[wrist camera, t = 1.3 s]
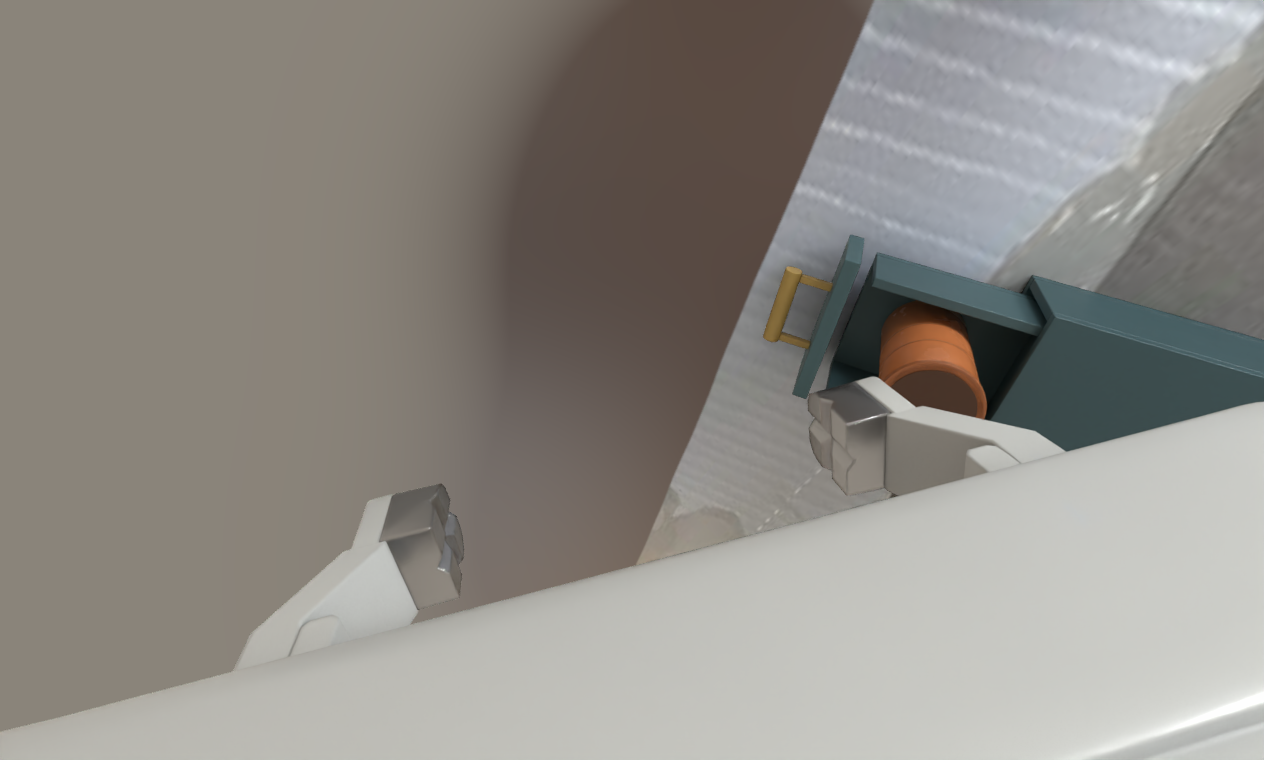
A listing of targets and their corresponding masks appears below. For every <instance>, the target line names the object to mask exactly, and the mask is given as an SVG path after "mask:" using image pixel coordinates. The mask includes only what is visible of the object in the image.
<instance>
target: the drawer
mask: <svg viewBox="0 0 1264 760" xmlns="http://www.w3.org/2000/svg"><path fill="white" fill-rule="evenodd" d="M863 246H864V238H861V237H857V236H854V235H850V237H849V239H848V242H847V244H846V247H845V250H844V252H843V255H842V257H841V260H840V263H839V265H838V268H837V270H836V273H835V276H834V278H833V281H832V283H831V282H827V281H824V280H821V279H817V278H814V277H811V276H808V275H804V274H802V271H801V270H800V269H798V268H795V267H786V269H785V272H784V275H783V278H782V281H781V284H780V287H779V289H778V292H777V295H776V298H775V301H774V304H773V307H772V310H771V313H770V316H769V319H768V322H767V325H766V328H765V331H764V334H763V338H764V339H766V340H767V341H770V342H777V341H778V340H780V341H784V342H787V343H790V344H793V345H796V346H799V347H802V348H805V349H806V351H805V353H804V356H803V358H802V362H801V365H800V369H799V372H798V376H797V379H796V383H795V387H794V390H793V395H796V396H799V397H801V398H804V399H806V398H807V396H808V393H809V391H810V388H811V386H812V383H813V381H814V378H815V376H816V373H817V371H818V369H819V366H820V364H821V361H822V359H823V356H824V354H825V351H826V349H827V346H828V344H829V342H830V339H831V337H832V334H833V332H834V329H835V327H836V324H837V322H838V319H839V317H840V315H841V312H842V310H843V307H844V305H845V302H846V300H847V297H848V295H849V292H850V290H851V288H852V285H853V283H854V280H855V278H856V275H857V273H858V270H859V268H860V265H861V260H862V253H863ZM799 282H800V283H803V284H806V285H809V286H813V287H816V288H819V289H822V290H826V291H828V294H827V296H826V299H825V301H824V304H823V307H822V309H821V312H820V314H819V317H818V320H817V322H816V325H815V327H814V330H813V332H812V335H811V338H810V340H805V339H802V338H799V337H796V336H793V335H790V334H787V333H784V332H782V329H783V326H784V324H785V321H786V318H787V315H788V312H789V310H790V307H791V304H792V301H793V298H794V295H795V293H796V290H797V287H798V284H799ZM917 300H918V301H921V302H924V303H928V304H931V305H934V306H938V307H941V308H944V309H948V310H951V311H954V312H958V313H959V314H960V315H961V316H962V318H963V319H964V321H965V324H966V327H967V331H968V336H969V340H970V344H971V348H972V352H973V357H974V361H975V365H976V369H977V373H978V378H979V382H980V384H981V386H982V387H983V390H984V392H985V396H986V401H987V410H986V415H985V418H984V420H987V418H988V417H989V415H990V413H991V412H992V410H993V409H994V407H995V405H996V404H997V402H998V400H999V399H1000V397H1001V396H1002V394H1003V392H1004V391H1005V389H1006V388H1007V386H1008V384H1009V383H1010V381H1011V379H1012V378H1013V376H1014V375H1015V373H1016V371H1017V370H1018V368H1019V367H1020V365H1021V363H1022V362H1023V360H1024V358H1025V357H1026V355H1027V354H1028V352H1029V350H1030V349H1031V347H1032V346H1033V344H1034V342H1035V341H1036V339H1037V337H1038V336H1039V334H1040V333H1041V331H1042V329H1043V328H1044V326H1045V325H1046V323H1047V321H1046V319H1045V317H1044V315H1043V313H1042V311H1041V309H1040V307H1039V305H1038V303H1037V301H1036V299H1035V298H1034V297H1031V296H1027V295H1024V294H1020V293H1017V292H1013V291H1010V290H1006V289H1003V288H999V287H996V286H992V285H989V284H986V283H982V282H979V281H975V280H972V279H968V278H965V277H961V276H958V275H954V274H951V273H947V272H944V271H940V270H937V269H933V268H930V267H927V266H923V265H920V264H916V263H913V262H909V261H906V260H902V259H899V258H895V257H892V256H888V255H885V254H881V253H877V254H876V256H875V259H874V261H873V263H872V266H871V268H870V271H869V273H868V275H867V278H866V280H865V283H864V285H863V287H862V290H861V292H860V294H859V297H858V299H857V302H856V304H855V306H854V309H853V311H852V314H851V316H850V318H849V321H848V323H847V326H846V328H845V330H844V333H843V335H842V338H841V340H840V342H839V345H838V347H837V350H836V352H835V354H834V357H833V359H832V361H831V365H830V370H829V375H828V380H827V385H826V389H829V388H833V387H836V386H840V385H844V384H847V383H851V382H854V381H858V380H861V379H865V378H868V377H872V376H874V377H878V378H879V359H880V341H881V330H882V327H883V324H884V322H885V321H886V319H887V318H888V316H889V315H890V314H891V313H892V312H893V311H894V310H896V309H897V308H899V307H900V306H902V305H904V304H906V303H909V302H912V301H917Z"/></svg>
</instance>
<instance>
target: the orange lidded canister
mask: <svg viewBox="0 0 1264 760" xmlns="http://www.w3.org/2000/svg"><path fill="white" fill-rule="evenodd" d="M879 379H881V380H882V381H883V382H884V383H886V384H887V385H888V386H890V387H891V388H892V389H893V390H895V391H896V392H897V393H898V394H900V395H901V396H902V397H904V398H905V399H906V400H907V401H909V402H910V403H911V404H913V405H914V406H915V407H920V406H926V407H930V408H934V409H939V410H943V411H948V412H952V413H957V414H961V415H966V416H970V417H975V418H979V419H983V420H984V418H985V415H986V410H987V401H986V396H985V392H984V390H983V387H982V386H981V384H980V382H979V378H978V373H977V369H976V365H975V361H974V357H973V352H972V348H971V344H970V340H969V336H968V331H967V327H966V324H965V321H964V319H963V318H962V316H961V315H960V314H959V313H958V312H954V311H951V310H948V309H944V308H941V307H938V306H934V305H931V304H928V303H924V302H921V301H918V300H917V301H912V302H909V303H906V304H904V305H902V306H900V307H899V308H897V309H896V310H894V311H893V312H892V313H891V314H890V315H889V316H888V318H887V319H886V321H885V322H884V324H883V327H882V330H881V341H880V359H879Z"/></svg>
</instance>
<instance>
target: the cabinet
mask: <svg viewBox="0 0 1264 760" xmlns="http://www.w3.org/2000/svg"><path fill="white" fill-rule="evenodd" d="M1022 294H1024V295H1027V296H1031V297H1034V298H1035V299H1036V301H1037V303H1038V305H1039V307H1040V309H1041V311H1042V313H1043V315H1044V317H1045V319H1046V321H1047V323H1046V325H1045V326H1044V328H1043V329H1042V331H1041V333H1040V334H1039V336H1038V337H1037V339H1036V341H1035V342H1034V344H1033V346H1032V347H1031V349H1030V350H1029V352H1028V354H1027V355H1026V357H1025V358H1024V360H1023V362H1022V363H1021V365H1020V367H1019V368H1018V370H1017V371H1016V373H1015V375H1014V376H1013V378H1012V379H1011V381H1010V383H1009V384H1008V386H1007V388H1006V389H1005V391H1004V392H1003V394H1002V396H1001V397H1000V399H999V400H998V402H997V404H996V405H995V407H994V409H993V410H992V412H991V413H990V415H989V417H988V418H987V420H988V421H992V422H997V423H1001V424H1006V425H1010V426H1015V427H1019V428H1023V429H1028V430H1032V431H1036V432H1037V433H1039V434H1040V435H1042V436H1043V437H1045V438H1046V439H1048V440H1049V441H1051V442H1052V443H1054V444H1055V445H1057V446H1058V447H1060V448H1061V449H1063V450H1065V451H1066V452H1067V451H1071V450H1075V449H1079V448H1082V447H1086V446H1090V445H1094V444H1098V443H1101V442H1105V441H1109V440H1113V439H1117V438H1120V437H1124V436H1128V435H1132V434H1136V433H1139V432H1143V431H1147V430H1151V429H1154V428H1158V427H1162V426H1166V425H1170V424H1173V423H1177V422H1181V421H1185V420H1189V419H1192V418H1196V417H1200V416H1204V415H1207V414H1211V413H1215V412H1218V411H1222V410H1226V409H1229V408H1233V407H1237V406H1241V405H1245V404H1250V403H1256V402H1264V340H1262V339H1258V338H1255V337H1251V336H1247V335H1244V334H1240V333H1237V332H1233V331H1230V330H1226V329H1223V328H1219V327H1215V326H1212V325H1208V324H1205V323H1201V322H1198V321H1194V320H1191V319H1187V318H1183V317H1180V316H1176V315H1173V314H1169V313H1166V312H1162V311H1159V310H1155V309H1151V308H1148V307H1144V306H1141V305H1137V304H1134V303H1130V302H1127V301H1123V300H1119V299H1116V298H1112V297H1109V296H1105V295H1102V294H1098V293H1095V292H1091V291H1087V290H1084V289H1080V288H1077V287H1073V286H1070V285H1066V284H1063V283H1059V282H1055V281H1052V280H1048V279H1045V278H1041V277H1038V276H1034V275H1032V277H1031V278H1030V280H1029V282H1028V284H1027V285H1026V287H1025V289H1024V291H1023V292H1022Z"/></svg>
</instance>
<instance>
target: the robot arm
mask: <svg viewBox="0 0 1264 760" xmlns="http://www.w3.org/2000/svg"><path fill="white" fill-rule="evenodd" d="M808 411H809V412H810V413H811V415H812V416H813V417H814V420H813V422H812V423H811V425H810V427H809V436H810V443H811V446H812V450H813V453H814V455H815V457H816V459H817V460H818V462H819V463H820V464H821V466H822V467H824V468H827V469H830V470H832V479H833V480H834V481H835V483H836V484H837V485H838V486H839V487H840V489H841V490H842V491H843V492H844V493H845V495H846V496H847V497H848V496H852V495H856V494H860V493H865V492H869V491H873V490H878V489H882V488H885V490H887V491H889V492H892V493H894V494H896V495H898V496H896V497H893V498H889V499H885V500H881V501H878V502H874V503H870V504H866V505H862V506H859V507H855V508H851V509H847V510H843V511H840V512H836V513H832V514H828V515H824V516H821V517H817V518H813V519H809V520H806V521H802V522H798V523H794V524H790V525H787V526H783V527H779V528H775V529H771V530H768V531H764V532H760V533H756V534H753V535H749V536H745V537H741V538H737V539H734V540H730V541H726V542H722V543H718V544H715V545H711V546H707V547H703V548H700V549H696V550H692V551H688V552H684V553H681V554H677V555H673V556H669V557H665V558H662V559H658V560H654V561H650V562H646V563H643V564H639V565H635V566H631V567H628V568H624V569H620V570H617V571H613V572H609V573H605V574H601V575H597V576H594V577H590V578H586V579H582V580H579V581H575V582H571V583H567V584H563V585H559V586H556V587H552V588H548V589H544V590H540V591H537V592H533V593H529V594H525V595H521V596H518V597H514V598H510V599H507V600H502V601H499V602H495V603H491V604H487V605H483V606H480V607H476V608H472V609H468V610H465V611H461V612H457V613H453V614H449V615H446V616H442V617H438V618H435V619H430V620H427V621H423V622H419V623H416V624H411V625H410V623H411V622H412V621H413V619H414V618H415V616H416V615H417V613H418V610H420V609H424V608H427V607H430V606H434V605H437V604H441V603H444V602H448V601H451V600H454V599H458V598H460V590H461V580H462V573H461V571H460V568H459V564H460V563H461V561H462V560H463V558H464V545H463V535H462V531H461V528H460V524H459V522H458V519H457V516H456V515H454V514H452V513H451V512H449V505H450V498H449V496H448V493H447V491H446V488H445V487H444V486H443V485H442V484H436V485H432V486H428V487H423V488H418V489H414V490H410V491H406V492H401V493H396V494H391V495H387V496H383V497H379V498H376V499H372V500H370V501H368V502H367V504H366V507H365V510H364V513H363V516H362V519H361V522H360V525H359V527H358V531H357V533H356V537H355V539H354V542H353V545H352V548H351V550H347V551H344V552H343V553H341V554H340V555H339V556H338V557H337V558H336V559H335V560H334V561H332V562H331V563H330V564H329V565H328V566H327V567H326V568H324V569H323V570H322V571H321V572H320V573H319V574H318V575H317V576H316V577H314V578H313V579H312V580H311V581H310V582H309V583H308V584H306V585H305V586H304V587H303V588H302V589H301V590H300V591H298V592H297V593H296V594H295V595H294V596H293V597H292V598H291V599H289V600H288V601H287V602H286V603H285V604H284V605H283V606H282V607H280V608H279V609H278V610H277V611H276V612H275V613H274V614H273V615H271V616H270V617H269V618H268V619H267V620H266V621H265V622H263V624H261V625H260V626H259V627H258V628H257V629H256V630H255V631H254V632H252V633H251V634H250V636H249V638H248V640H247V642H246V645H245V646H244V649H243V651H242V653H241V655H240V657H239V659H238V661H237V664H236V666H235V668H234V670H233V672H230V673H226V674H222V675H218V676H214V677H210V678H207V679H203V680H199V681H195V682H192V683H188V684H184V685H180V686H177V687H173V688H169V689H165V690H161V691H157V692H153V693H150V694H146V695H142V696H138V697H135V698H131V699H127V700H124V701H119V702H116V703H112V704H108V705H105V706H101V707H97V708H93V709H89V710H85V711H81V712H78V713H74V714H70V715H66V716H63V717H59V718H55V719H51V720H46V721H42V722H38V723H34V724H30V725H26V726H22V727H17V728H14V729H9V730H6V731H2V732H0V760H1264V402H1256V403H1250V404H1245V405H1241V406H1237V407H1233V408H1229V409H1226V410H1222V411H1218V412H1215V413H1211V414H1207V415H1204V416H1200V417H1196V418H1192V419H1189V420H1185V421H1181V422H1177V423H1173V424H1170V425H1166V426H1162V427H1158V428H1154V429H1151V430H1147V431H1143V432H1139V433H1136V434H1132V435H1128V436H1124V437H1120V438H1117V439H1113V440H1109V441H1105V442H1101V443H1098V444H1094V445H1090V446H1086V447H1082V448H1079V449H1075V450H1071V451H1067V452H1066V451H1065V450H1063V449H1061V448H1060V447H1058V446H1057V445H1055V444H1054V443H1052V442H1051V441H1049V440H1048V439H1046V438H1045V437H1043V436H1042V435H1040V434H1039V433H1037V432H1036V431H1032V430H1028V429H1023V428H1019V427H1015V426H1010V425H1006V424H1001V423H997V422H992V421H988V420H983V419H979V418H975V417H970V416H966V415H961V414H957V413H952V412H948V411H943V410H939V409H934V408H930V407H926V406H920V407H915V406H914V405H913V404H911V403H910V402H909V401H907V400H906V399H905V398H904V397H902V396H901V395H900V394H898V393H897V392H896V391H895V390H893V389H892V388H891V387H890V386H888V385H887V384H886V383H884V382H883V381H882V380H881V379H879V378H878V377H874V376H872V377H868V378H865V379H861V380H858V381H854V382H851V383H847V384H844V385H840V386H836V387H833V388H829V389H825V390H822V391H818V392H814V393H811V394H809V397H808Z"/></svg>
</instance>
